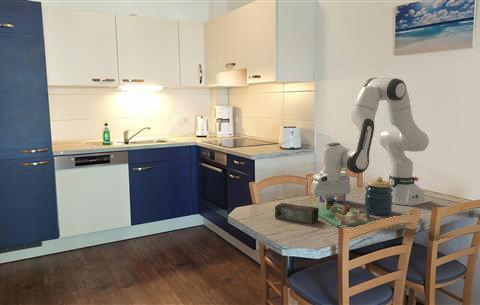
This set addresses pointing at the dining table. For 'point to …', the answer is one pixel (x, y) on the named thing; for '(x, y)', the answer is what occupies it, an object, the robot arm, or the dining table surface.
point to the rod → (338, 205)
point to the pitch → (329, 215)
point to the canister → (378, 197)
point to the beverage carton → (296, 213)
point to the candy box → (340, 198)
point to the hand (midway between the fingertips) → (330, 203)
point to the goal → (352, 218)
